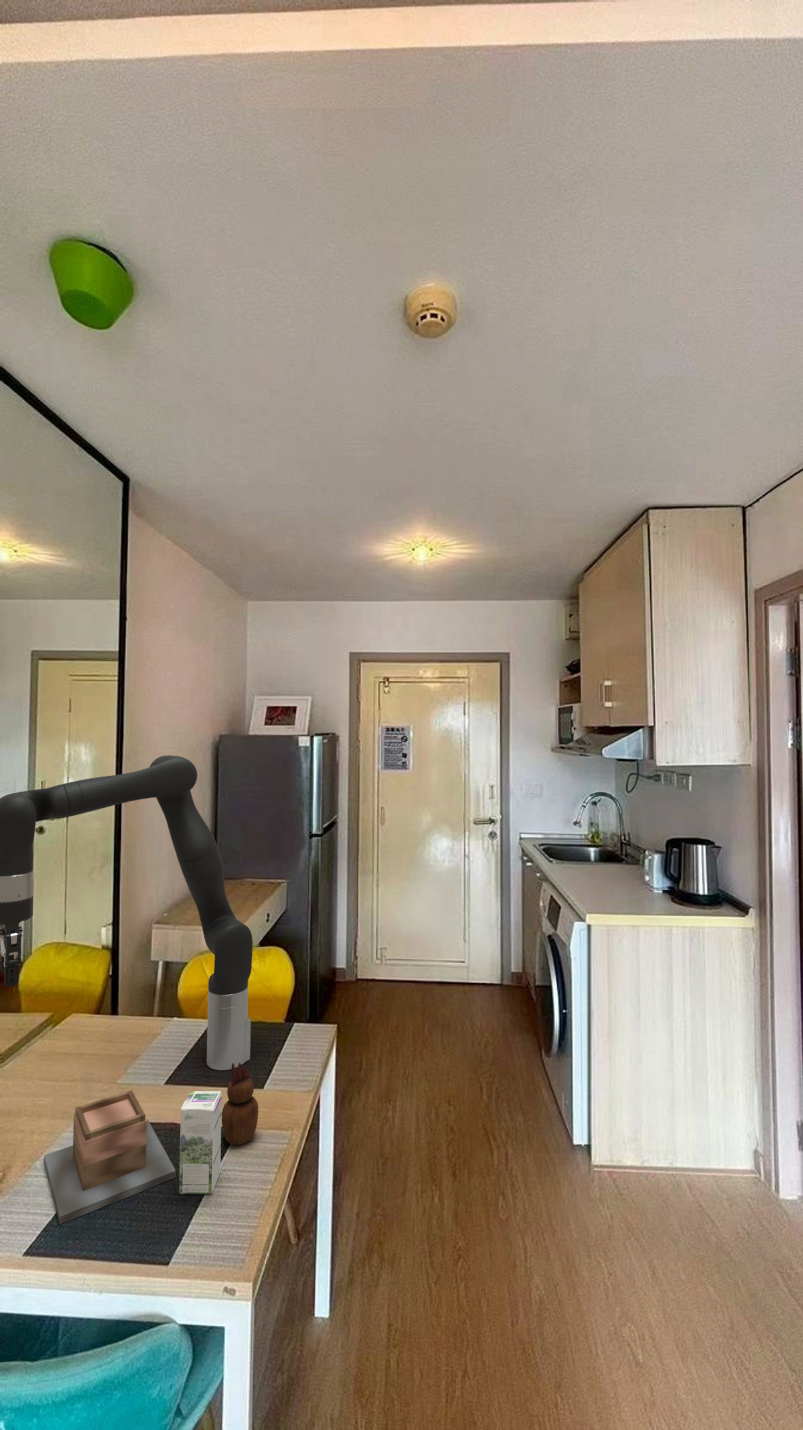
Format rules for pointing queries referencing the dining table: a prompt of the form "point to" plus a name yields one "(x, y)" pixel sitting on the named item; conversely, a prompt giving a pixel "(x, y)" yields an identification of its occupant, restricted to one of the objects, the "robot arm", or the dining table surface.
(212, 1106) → the syrup box
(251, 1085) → the wooden figurine
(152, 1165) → the tower base
